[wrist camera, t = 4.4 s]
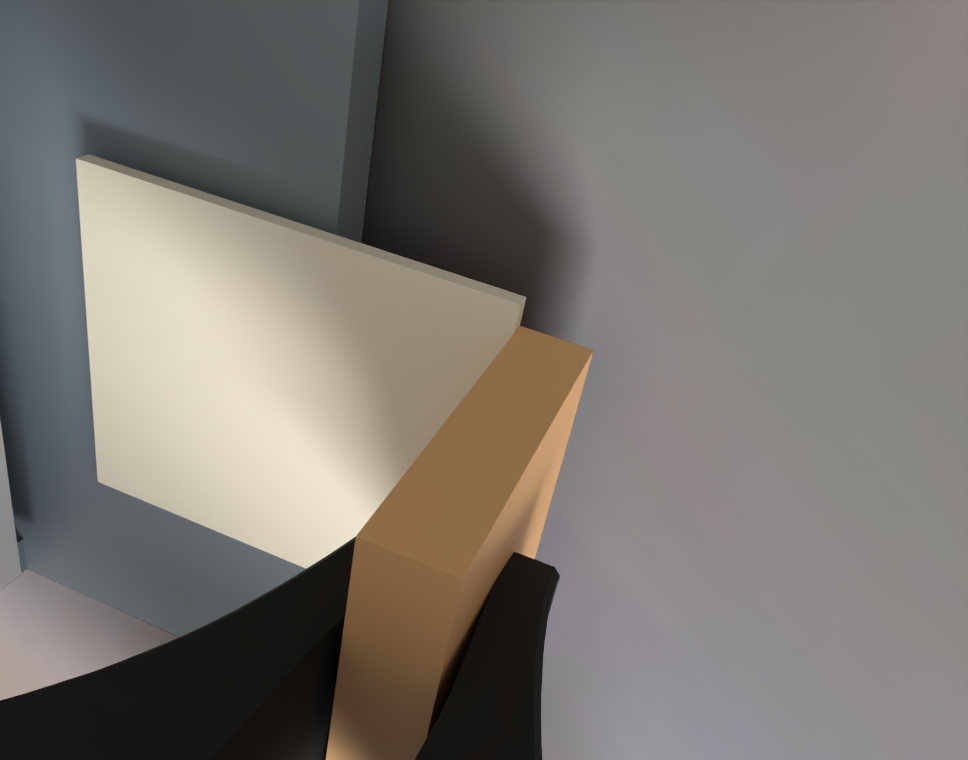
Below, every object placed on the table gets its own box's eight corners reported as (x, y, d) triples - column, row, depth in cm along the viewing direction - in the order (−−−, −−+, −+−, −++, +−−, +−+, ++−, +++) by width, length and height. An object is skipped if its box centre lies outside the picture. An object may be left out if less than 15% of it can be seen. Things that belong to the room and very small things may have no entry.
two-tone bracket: (602, 321, 13) (471, 543, 9) (511, 641, 17) (386, 914, 12) (88, 154, 15) (-242, 262, 11) (107, 473, 19) (-131, 657, 14)
